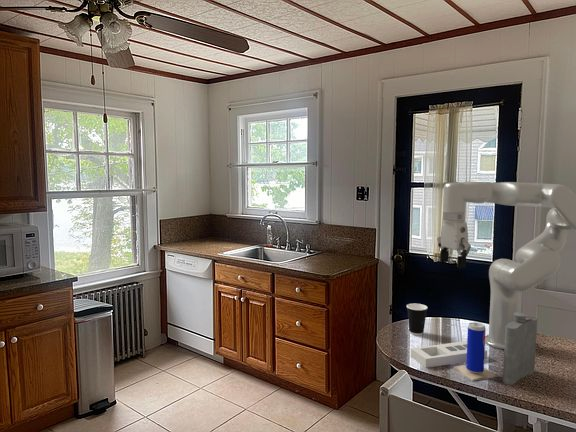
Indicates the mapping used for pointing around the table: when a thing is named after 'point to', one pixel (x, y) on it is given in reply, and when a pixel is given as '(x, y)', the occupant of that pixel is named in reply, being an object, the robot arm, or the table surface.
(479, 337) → the beverage can
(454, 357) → the power strip
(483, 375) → the coaster pad
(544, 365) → the table surface
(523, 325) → the hip flask
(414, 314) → the dixie cup
